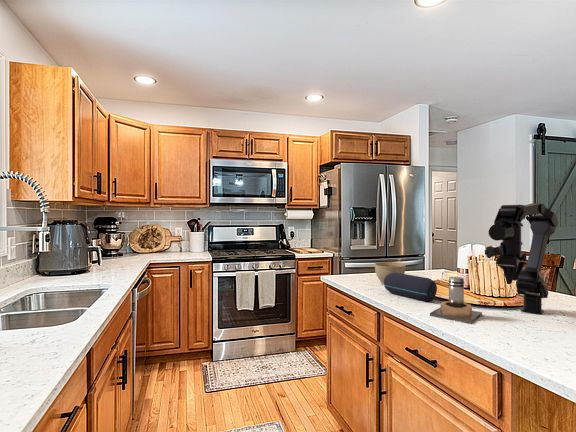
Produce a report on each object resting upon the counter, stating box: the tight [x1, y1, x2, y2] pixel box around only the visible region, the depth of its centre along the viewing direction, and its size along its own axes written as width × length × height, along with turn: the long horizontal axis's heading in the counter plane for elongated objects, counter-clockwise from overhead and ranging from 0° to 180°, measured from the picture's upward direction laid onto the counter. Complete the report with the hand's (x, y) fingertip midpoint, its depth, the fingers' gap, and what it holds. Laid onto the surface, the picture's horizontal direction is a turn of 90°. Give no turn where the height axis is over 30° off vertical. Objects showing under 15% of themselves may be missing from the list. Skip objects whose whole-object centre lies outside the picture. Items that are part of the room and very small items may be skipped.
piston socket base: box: [429, 300, 483, 324], centre depth 130 cm, size 14×14×4 cm
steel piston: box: [448, 276, 465, 307], centre depth 130 cm, size 5×5×13 cm
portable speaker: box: [383, 273, 438, 302], centre depth 159 cm, size 25×10×10 cm, turn 33°
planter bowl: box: [374, 261, 407, 286], centre depth 187 cm, size 16×16×11 cm
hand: (511, 282), depth 126 cm, fingers open, 9 cm apart
